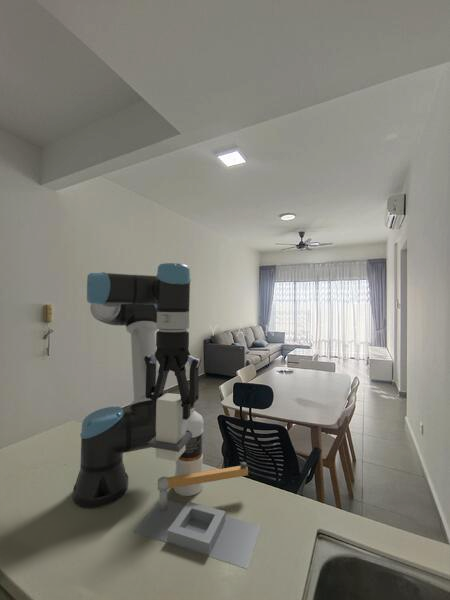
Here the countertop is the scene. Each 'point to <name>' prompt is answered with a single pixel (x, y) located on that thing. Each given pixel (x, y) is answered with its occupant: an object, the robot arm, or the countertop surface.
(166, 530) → the socket block
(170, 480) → the orange knobbed bar
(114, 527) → the countertop surface
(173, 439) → the plug
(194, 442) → the vodka
